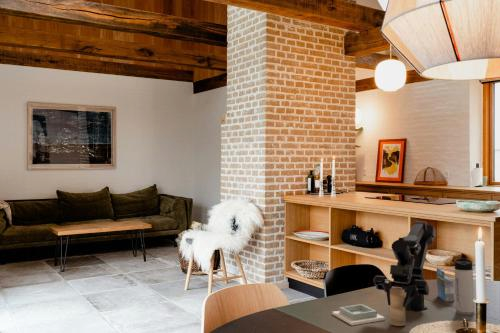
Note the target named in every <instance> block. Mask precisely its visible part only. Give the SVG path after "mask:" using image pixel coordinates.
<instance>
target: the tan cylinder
mask: <svg viewBox="0 0 500 333" xmlns="http://www.w3.org/2000/svg"><path fill="white" fill-rule="evenodd" d="M405 296H406V292H405V290H404V289H402V288H401V287H392V288H391V289H390V306H389V307H390V310H389V311H390V325H392V326H395V327H403V326H406V323H407V322H406V308H404V307H403V304H404V300H405Z"/></svg>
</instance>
